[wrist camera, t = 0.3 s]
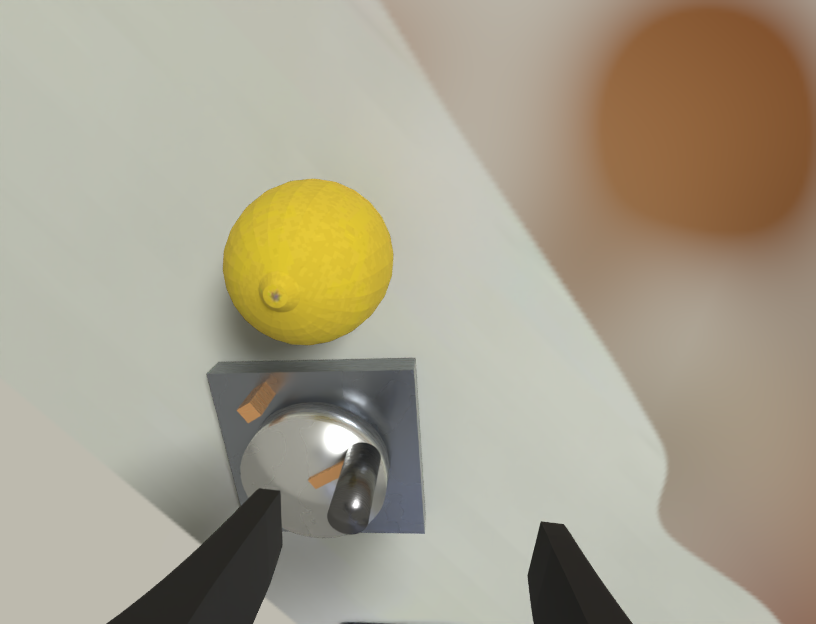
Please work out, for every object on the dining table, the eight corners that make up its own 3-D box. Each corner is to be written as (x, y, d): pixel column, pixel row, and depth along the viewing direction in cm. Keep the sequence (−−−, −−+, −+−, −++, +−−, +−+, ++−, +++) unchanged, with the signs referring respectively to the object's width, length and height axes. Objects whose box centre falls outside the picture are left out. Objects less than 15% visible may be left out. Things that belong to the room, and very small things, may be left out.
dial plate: (425, 515, 24) (423, 563, 22) (255, 513, 25) (232, 559, 23) (415, 357, 21) (411, 390, 18) (218, 362, 22) (185, 393, 19)
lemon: (384, 310, 20) (350, 407, 13) (270, 277, 20) (167, 355, 13) (417, 193, 18) (399, 227, 11) (290, 155, 18) (181, 162, 11)
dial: (394, 514, 23) (382, 609, 18) (266, 513, 23) (223, 604, 19) (383, 400, 20) (366, 476, 16) (240, 402, 21) (182, 476, 16)
